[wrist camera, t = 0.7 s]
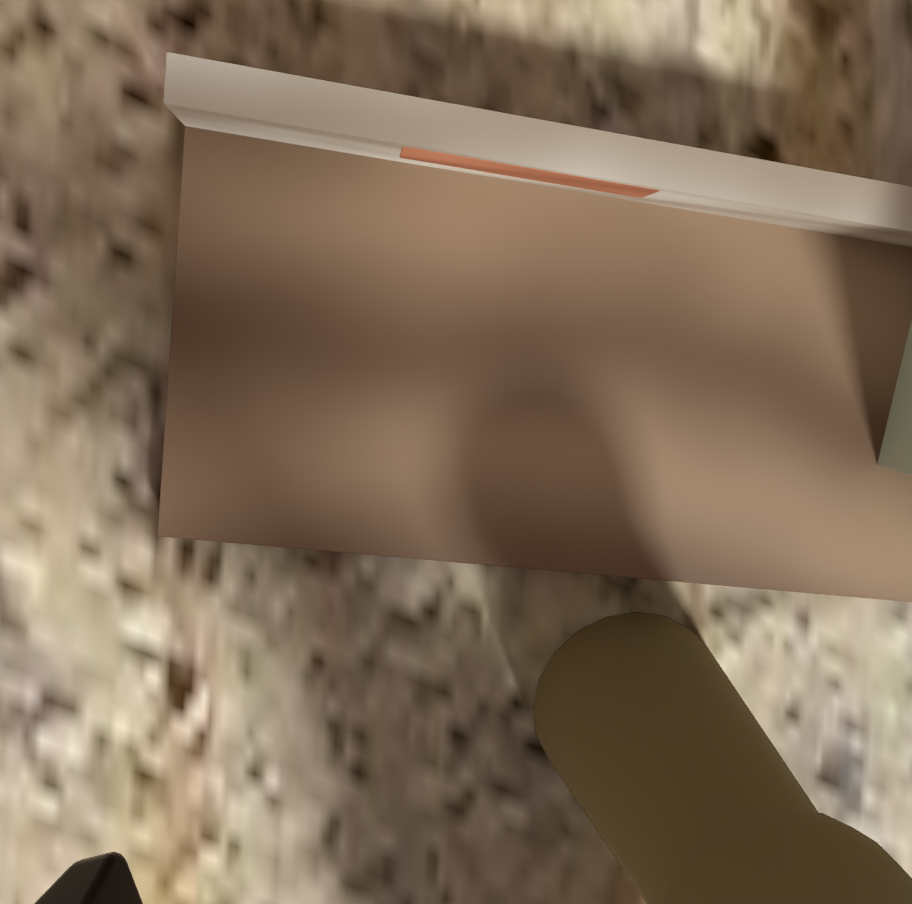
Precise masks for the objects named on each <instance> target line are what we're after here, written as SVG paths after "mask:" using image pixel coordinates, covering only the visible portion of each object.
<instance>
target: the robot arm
mask: <svg viewBox="0 0 912 904" xmlns="http://www.w3.org/2000/svg"><path fill="white" fill-rule="evenodd" d="M35 904H143V903H142V900H141V898H140V895H139V893H138V890H137V887H136V885H135V882H134V880H133V877H132V874H131V872H130V869H129V866H128V864H127V862H126V860H125V858H124V857H123V856H122V855H121V854H119V853H116V852H110V853H106V854H102V855H98V856H94V857H90V858H86V859H82V860H80V861H77V862H76V863H74V864H73V865H72V866H71V867H69V868H68V869H67V870H66V871H65V872H64V873H63V875H62V876H61V877H60V878H59V879H58V880H57V881H56V882H55V883H54V884H53V885H52V886H51V887H50V888H49V889H48V890H47V891H46V892H45V893H44V894H43V895H42V896H41V897H40V898H39V899H38V900H37V902H36V903H35Z"/></svg>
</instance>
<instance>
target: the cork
mask: <svg viewBox="0 0 912 904" xmlns="http://www.w3.org/2000/svg"><path fill="white" fill-rule="evenodd" d="M533 710H534V720H535V729H536V735H537V737H538V739H539V741H540V743H541V745H542V748H543V750H544V752H545V754H546V756H547V758H548V759H549V761H550V762H551V764H552V765H553V767H554V768H555V770H556V771H557V773H558V774H559V776H560V777H561V778H562V780H563V781H564V783H565V784H566V786H567V787H568V789H569V790H570V792H571V793H572V795H573V796H574V797H575V799H576V800H577V802H578V803H579V805H580V806H581V808H582V809H583V811H584V812H585V814H586V815H587V817H588V818H589V819H590V821H591V822H592V824H593V825H594V827H595V828H596V830H597V831H598V833H599V834H600V836H601V837H602V838H603V840H604V841H605V843H606V844H607V846H608V847H609V849H610V850H611V852H612V853H613V855H614V856H615V858H616V859H617V860H618V862H619V863H620V865H621V866H622V868H623V869H624V871H625V872H626V874H627V875H628V877H629V878H630V879H631V881H632V882H633V884H634V885H635V887H636V888H637V890H638V891H639V893H640V894H641V896H642V897H643V899H644V900H645V901H646V903H647V904H912V878H911V877H910V876H909V875H908V874H907V873H906V872H905V871H904V870H903V869H902V867H901V866H900V865H899V864H898V863H897V862H896V861H895V860H894V859H893V858H892V857H891V856H890V855H889V854H888V853H887V852H886V851H885V850H884V849H883V848H882V847H881V846H880V845H879V844H878V843H877V842H875V841H874V840H872V839H870V838H869V837H867V836H865V835H864V834H862V833H861V832H859V831H857V830H856V829H854V828H852V827H851V826H848V825H846V824H844V823H842V822H840V821H838V820H836V819H834V818H831V817H829V816H827V815H825V814H823V813H818V811H817V810H816V808H815V807H814V805H813V804H812V802H811V801H810V799H809V798H808V796H807V795H806V793H805V792H804V790H803V789H802V787H801V786H800V784H799V783H798V781H797V780H796V779H795V777H794V776H793V774H792V773H791V771H790V770H789V768H788V767H787V765H786V764H785V762H784V761H783V759H782V758H781V756H780V755H779V753H778V752H777V750H776V749H775V747H774V746H773V744H772V743H771V741H770V740H769V738H768V737H767V735H766V734H765V732H764V731H763V729H762V728H761V726H760V725H759V723H758V722H757V720H756V719H755V717H754V716H753V714H752V713H751V711H750V710H749V708H748V707H747V705H746V704H745V703H744V701H743V700H742V698H741V697H740V695H739V694H738V692H737V691H736V689H735V688H734V686H733V685H732V683H731V682H730V680H729V679H728V677H727V676H726V674H725V673H724V671H723V670H722V668H721V667H720V665H719V664H718V662H717V661H716V659H715V658H714V656H713V655H712V653H711V652H710V650H709V649H708V648H707V647H706V646H705V645H704V643H703V642H702V641H701V640H700V639H699V638H698V637H697V636H696V635H695V634H694V633H693V632H692V630H691V629H689V628H687V627H685V626H683V625H681V624H679V623H677V622H675V621H673V620H672V619H670V618H668V617H666V616H659V615H652V614H645V613H638V612H635V613H629V614H623V615H617V616H611V617H606V618H604V619H602V620H600V621H598V622H596V623H594V624H592V625H590V626H588V627H586V628H584V629H581V630H579V631H578V632H577V633H576V634H575V635H574V636H572V637H571V638H570V639H569V640H568V641H567V642H566V643H565V644H564V645H563V646H561V647H560V648H559V649H558V650H557V651H556V652H555V654H554V655H553V657H552V659H551V660H550V662H549V664H548V665H547V667H546V669H545V670H544V672H543V674H542V675H541V677H540V679H539V684H538V688H537V692H536V697H535V701H534V705H533Z"/></svg>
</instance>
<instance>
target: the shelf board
mask: <svg viewBox="0 0 912 904" xmlns="http://www.w3.org/2000/svg"><path fill="white" fill-rule="evenodd" d="M163 104H164V105H165V106H166V107H167V108H168V109H169V110H170V111H171V112H172V113H173V114H174V115H175V116H176V117H177V118H178V119H179V120H180V121H181V122H182V123H183V124H184V125H185V135H184V150H183V165H182V180H181V195H180V210H179V224H178V239H177V254H176V269H175V284H174V299H173V314H172V329H171V344H170V359H169V374H168V388H167V403H166V418H165V433H164V448H163V463H162V478H161V493H160V508H159V523H158V536H161V537H173V538H184V539H196V540H207V541H219V542H230V543H242V544H253V545H265V546H276V547H287V548H299V549H310V550H322V551H333V552H345V553H356V554H368V555H379V556H391V557H402V558H414V559H425V560H436V561H448V562H459V563H471V564H482V565H494V566H505V567H517V568H528V569H540V570H551V571H562V572H574V573H585V574H597V575H608V576H620V577H631V578H643V579H654V580H666V581H677V582H688V583H700V584H711V585H723V586H734V587H746V588H757V589H769V590H780V591H792V592H803V593H814V594H826V595H837V596H849V597H860V598H872V599H883V600H895V601H906V602H912V475H909V474H906V473H903V472H900V471H896V470H893V469H890V468H887V467H883V466H880V465H877V463H878V459H879V455H880V450H881V446H882V442H883V438H884V434H885V429H886V425H887V421H888V417H889V413H890V408H891V404H892V400H893V396H894V392H895V387H896V383H897V379H898V375H899V371H900V366H901V362H902V358H903V354H904V350H905V346H906V341H907V337H908V333H909V329H910V325H911V320H912V187H911V186H906V185H900V184H895V183H889V182H884V181H878V180H873V179H867V178H862V177H856V176H850V175H845V174H839V173H834V172H828V171H823V170H817V169H812V168H806V167H801V166H795V165H790V164H784V163H779V162H773V161H767V160H762V159H756V158H751V157H745V156H740V155H734V154H729V153H723V152H718V151H712V150H707V149H701V148H696V147H690V146H684V145H679V144H673V143H668V142H662V141H657V140H651V139H646V138H640V137H635V136H629V135H624V134H618V133H613V132H607V131H602V130H596V129H590V128H585V127H579V126H574V125H568V124H563V123H557V122H552V121H546V120H541V119H535V118H530V117H524V116H519V115H513V114H507V113H502V112H496V111H491V110H485V109H480V108H474V107H469V106H463V105H458V104H452V103H447V102H441V101H436V100H430V99H424V98H419V97H413V96H408V95H402V94H397V93H391V92H386V91H380V90H375V89H369V88H364V87H358V86H353V85H347V84H341V83H336V82H330V81H325V80H319V79H314V78H308V77H303V76H297V75H292V74H286V73H281V72H275V71H270V70H264V69H258V68H253V67H247V66H242V65H236V64H231V63H225V62H220V61H214V60H209V59H203V58H198V57H192V56H187V55H181V54H175V53H170V52H167V53H166V70H165V86H164V102H163Z"/></svg>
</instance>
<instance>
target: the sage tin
mask: <svg viewBox="0 0 912 904" xmlns="http://www.w3.org/2000/svg"><path fill="white" fill-rule="evenodd" d="M877 465H880V466H883V467H887V468H890V469H893V470H896V471H900V472H903V473H906V474H909V475H912V320H911V325H910V329H909V333H908V337H907V341H906V346H905V350H904V354H903V358H902V362H901V366H900V371H899V375H898V379H897V383H896V387H895V392H894V396H893V400H892V404H891V408H890V413H889V417H888V421H887V425H886V429H885V434H884V438H883V442H882V446H881V450H880V455H879V459H878V463H877Z"/></svg>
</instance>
